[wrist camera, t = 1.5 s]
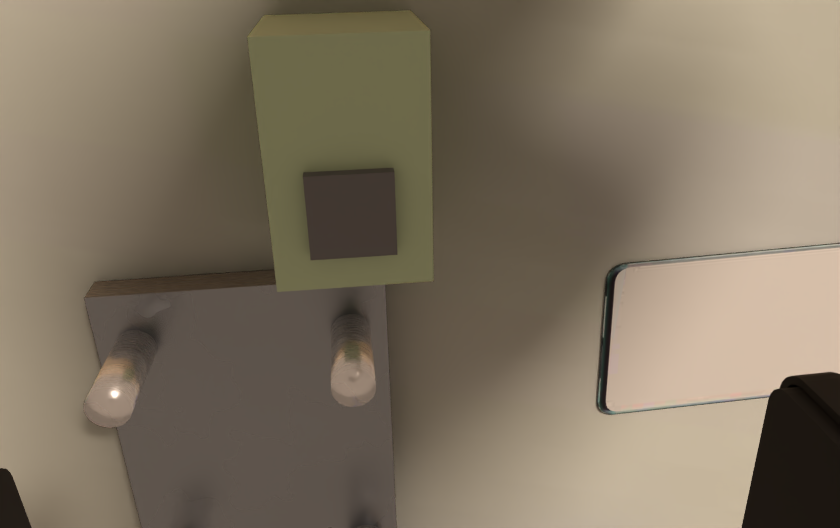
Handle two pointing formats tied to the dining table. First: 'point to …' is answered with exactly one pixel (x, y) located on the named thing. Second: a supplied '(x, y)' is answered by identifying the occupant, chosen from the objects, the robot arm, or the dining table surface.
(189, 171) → the dining table surface
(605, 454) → the dining table surface
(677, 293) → the smartphone
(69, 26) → the dining table surface
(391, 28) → the block
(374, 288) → the chassis
